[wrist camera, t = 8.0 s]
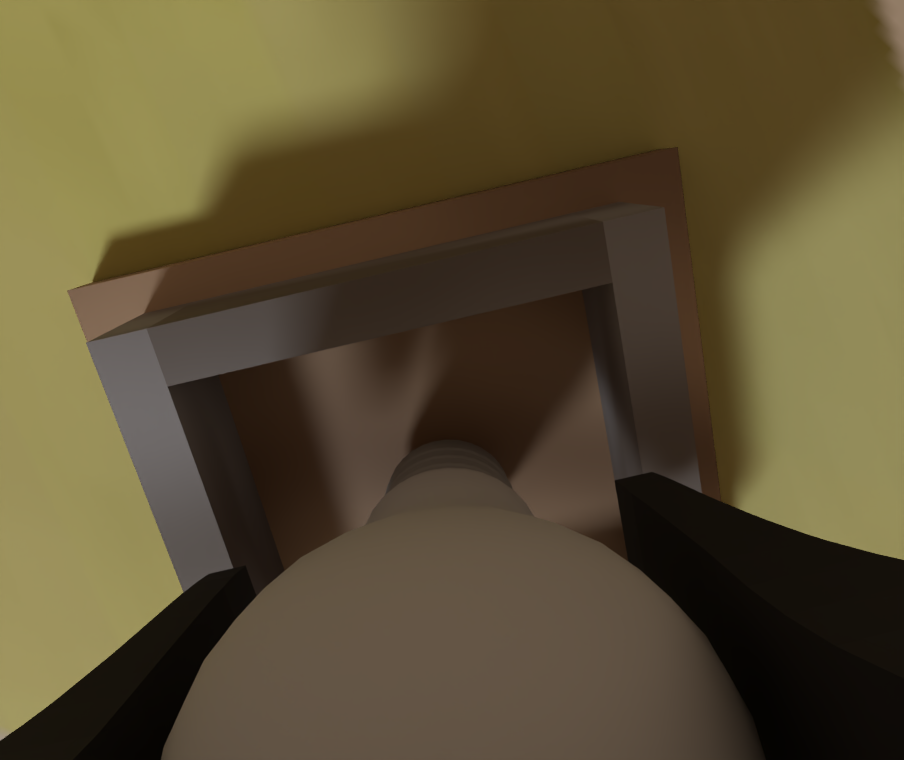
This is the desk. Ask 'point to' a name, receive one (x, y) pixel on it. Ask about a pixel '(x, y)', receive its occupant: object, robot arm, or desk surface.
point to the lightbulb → (462, 643)
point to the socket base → (412, 363)
